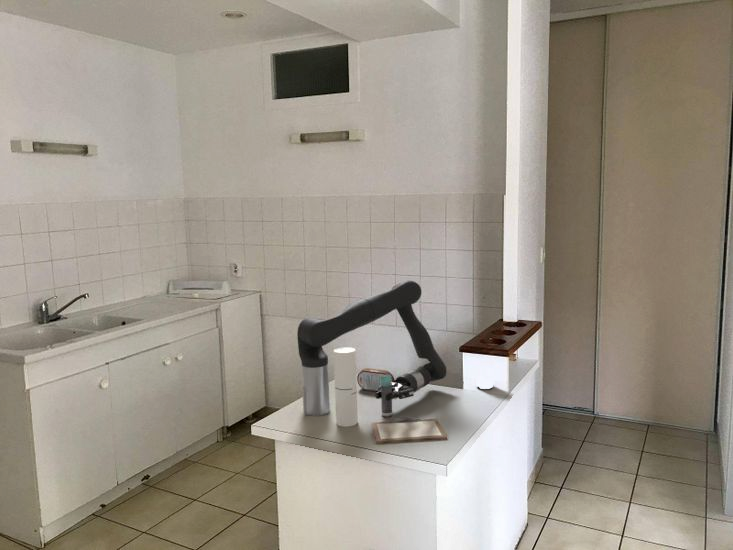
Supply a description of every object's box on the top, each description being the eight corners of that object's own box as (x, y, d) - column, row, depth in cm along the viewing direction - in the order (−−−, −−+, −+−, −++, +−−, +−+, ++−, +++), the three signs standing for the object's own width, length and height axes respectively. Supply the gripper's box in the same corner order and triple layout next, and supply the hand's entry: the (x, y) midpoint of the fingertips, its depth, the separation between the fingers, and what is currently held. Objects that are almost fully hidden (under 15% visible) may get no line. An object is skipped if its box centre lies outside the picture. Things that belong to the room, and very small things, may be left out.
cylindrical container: (333, 420, 205) (330, 348, 202) (352, 417, 208) (350, 346, 205) (340, 428, 199) (338, 354, 195) (360, 424, 202) (358, 351, 198)
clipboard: (376, 443, 186) (376, 438, 186) (371, 425, 201) (371, 419, 200) (447, 439, 188) (447, 433, 187) (437, 420, 202) (437, 415, 202)
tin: (395, 391, 233) (394, 370, 232) (392, 394, 230) (391, 372, 229) (359, 387, 239) (359, 366, 238) (356, 390, 236) (355, 369, 235)
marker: (382, 418, 206) (381, 378, 204) (380, 413, 210) (379, 374, 208) (393, 417, 207) (392, 377, 205) (391, 413, 211) (390, 374, 209)
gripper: (392, 370, 222) (364, 382, 209) (426, 376, 214) (398, 390, 200) (393, 389, 223) (365, 403, 210) (426, 396, 215) (399, 411, 201)
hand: (381, 396), depth 205 cm, fingers closed on marker, 3 cm apart
